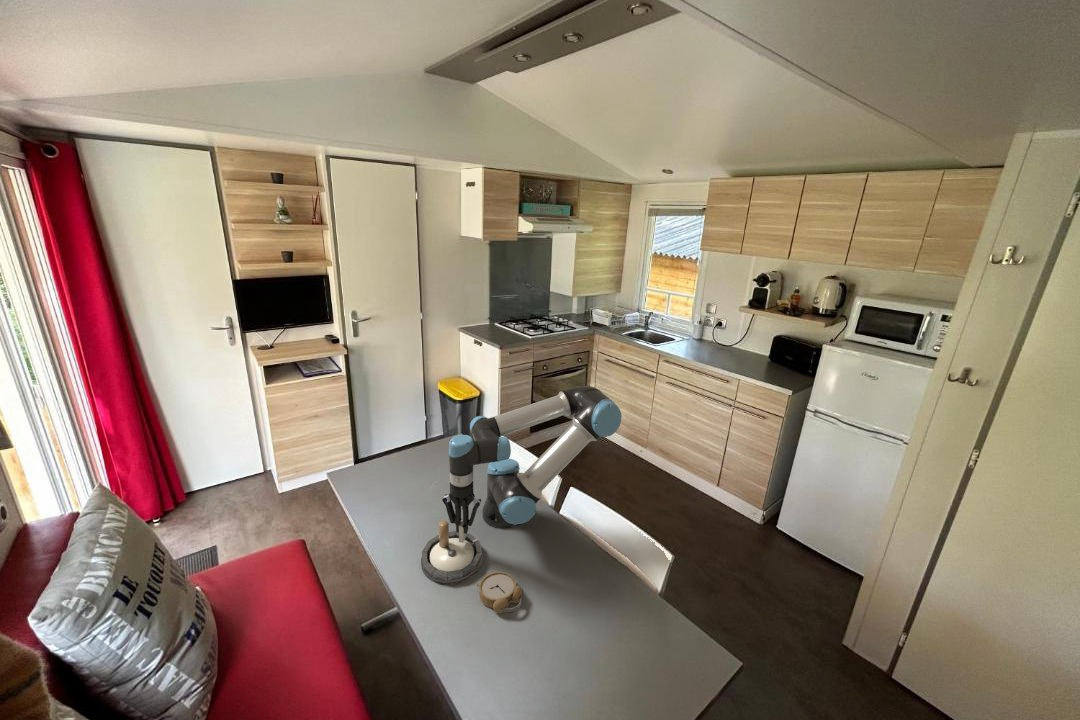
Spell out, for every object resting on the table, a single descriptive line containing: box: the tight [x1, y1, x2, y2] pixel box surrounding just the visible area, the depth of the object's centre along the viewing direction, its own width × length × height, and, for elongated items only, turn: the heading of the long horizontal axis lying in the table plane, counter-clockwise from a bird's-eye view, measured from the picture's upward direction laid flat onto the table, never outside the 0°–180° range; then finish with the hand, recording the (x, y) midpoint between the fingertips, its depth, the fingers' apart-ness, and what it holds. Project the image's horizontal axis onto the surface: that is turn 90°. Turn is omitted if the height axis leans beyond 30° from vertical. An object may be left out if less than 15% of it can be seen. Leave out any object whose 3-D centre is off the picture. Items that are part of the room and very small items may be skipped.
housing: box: [420, 530, 483, 585], centre depth 145 cm, size 20×20×4 cm
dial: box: [430, 520, 474, 572], centre depth 143 cm, size 14×14×10 cm
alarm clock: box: [476, 571, 524, 614], centre depth 132 cm, size 11×5×15 cm
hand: (462, 539), depth 148 cm, fingers closed
